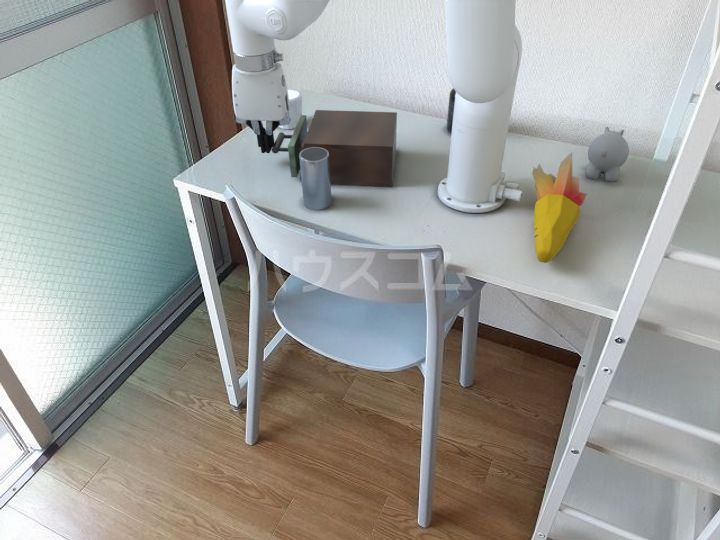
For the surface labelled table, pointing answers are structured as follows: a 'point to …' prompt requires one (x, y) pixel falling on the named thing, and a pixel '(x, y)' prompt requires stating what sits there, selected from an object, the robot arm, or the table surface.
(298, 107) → the white cylinder
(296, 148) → the drawer
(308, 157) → the measuring cup
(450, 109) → the supplement bottle
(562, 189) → the torch
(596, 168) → the toy rhinoceros
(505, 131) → the robot arm
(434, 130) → the table surface
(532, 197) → the table surface
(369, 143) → the cabinet
